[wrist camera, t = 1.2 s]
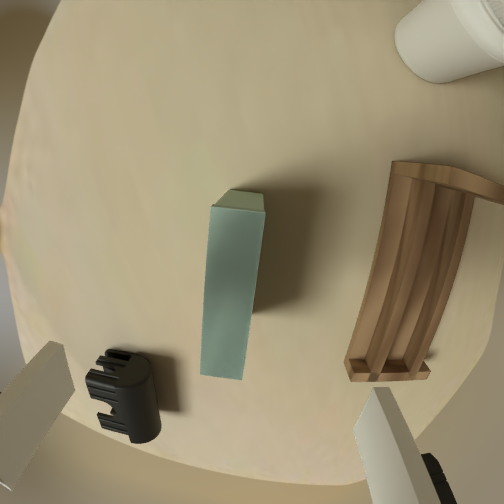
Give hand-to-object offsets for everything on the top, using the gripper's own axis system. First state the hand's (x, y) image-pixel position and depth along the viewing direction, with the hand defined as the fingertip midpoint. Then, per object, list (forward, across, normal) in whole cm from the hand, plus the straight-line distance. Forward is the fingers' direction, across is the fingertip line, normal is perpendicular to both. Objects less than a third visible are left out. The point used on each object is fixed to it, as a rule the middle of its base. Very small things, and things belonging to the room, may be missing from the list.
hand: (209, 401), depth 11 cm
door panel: (+18, 0, 0) cm, 18 cm away
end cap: (+19, -11, -18) cm, 28 cm away
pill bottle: (+18, +16, +24) cm, 34 cm away
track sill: (+18, +18, 0) cm, 26 cm away
